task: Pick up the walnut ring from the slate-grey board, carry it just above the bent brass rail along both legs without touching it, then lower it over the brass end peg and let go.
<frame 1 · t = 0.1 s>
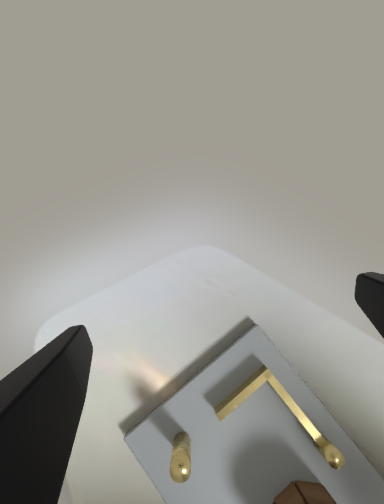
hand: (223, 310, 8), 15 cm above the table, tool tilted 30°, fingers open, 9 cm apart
end peg: (182, 436, 21), resting on slate board
bent rail: (277, 433, 20), on the slate board, point 1 cm above the table
slate board: (255, 460, 21), on the table
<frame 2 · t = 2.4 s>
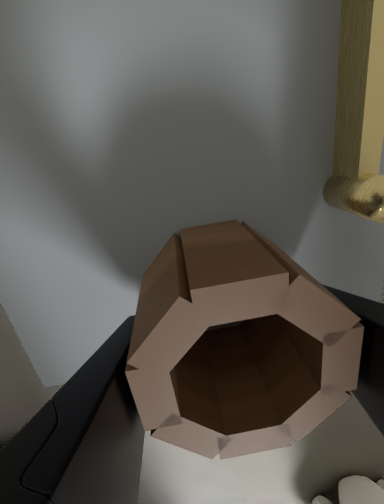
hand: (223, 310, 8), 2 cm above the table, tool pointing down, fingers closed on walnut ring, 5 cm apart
bent rail: (287, 72, 6), on the slate board, point 1 cm above the table
walnut ring: (217, 291, 10), point 1 cm above the table, touching gripper, slate board
water bottle: (346, 493, 18), on the table
slate board: (179, 149, 8), on the table
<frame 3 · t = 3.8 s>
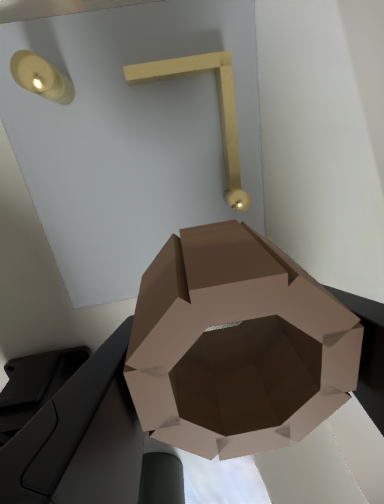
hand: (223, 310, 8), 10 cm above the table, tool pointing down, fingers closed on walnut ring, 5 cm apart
end peg: (66, 93, 14), resting on slate board
bent rail: (192, 144, 14), on the slate board, point 1 cm above the table
walnut ring: (216, 291, 10), point 9 cm above the table, touching gripper
wine bottle: (155, 468, 27), on the table
water bottle: (274, 404, 25), on the table
slate board: (148, 175, 16), on the table
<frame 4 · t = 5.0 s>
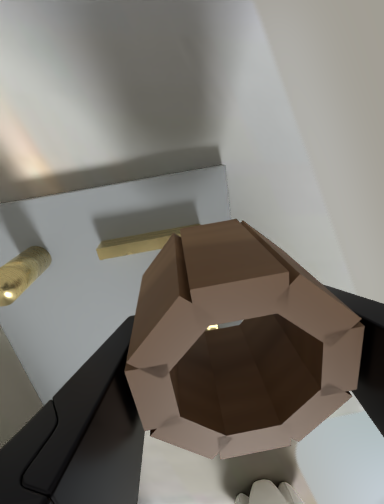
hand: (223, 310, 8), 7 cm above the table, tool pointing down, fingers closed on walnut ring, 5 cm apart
end peg: (44, 252, 14), resting on slate board
bent rail: (168, 304, 14), on the slate board, point 1 cm above the table
walnut ring: (217, 291, 10), point 6 cm above the table, touching gripper
water bottle: (262, 491, 25), on the table
slate board: (128, 314, 16), on the table
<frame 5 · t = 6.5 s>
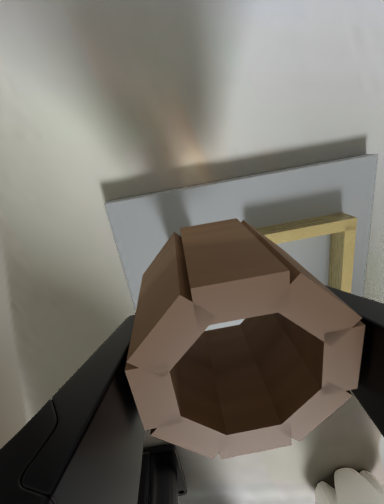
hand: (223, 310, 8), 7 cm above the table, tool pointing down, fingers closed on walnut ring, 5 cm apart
bent rail: (306, 291, 15), on the slate board, point 1 cm above the table
walnut ring: (217, 290, 10), point 6 cm above the table, touching gripper
water bottle: (340, 480, 26), on the table
slate board: (250, 303, 17), on the table
when the fingers open (4 cm above the table, at t = 7.7 s): walnut ring drops 2 cm, resting on slate board.
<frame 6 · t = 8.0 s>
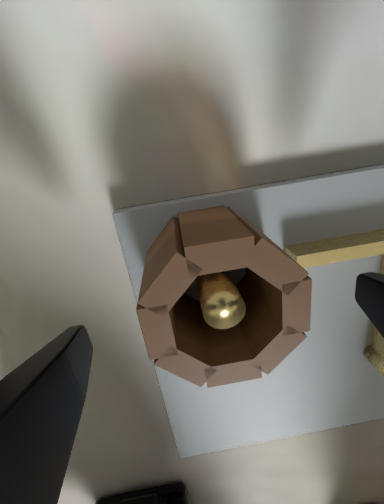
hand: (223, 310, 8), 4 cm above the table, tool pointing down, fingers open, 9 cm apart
end peg: (205, 258, 12), resting on slate board
bent rail: (352, 320, 12), on the slate board, point 1 cm above the table
walnut ring: (208, 265, 12), point 1 cm above the table, touching slate board
slate board: (279, 329, 14), on the table
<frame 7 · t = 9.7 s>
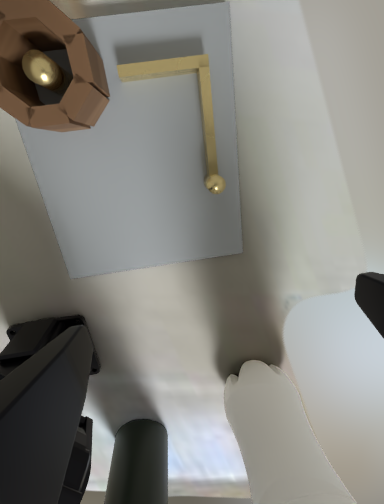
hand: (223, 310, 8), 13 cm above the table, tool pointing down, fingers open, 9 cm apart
end peg: (68, 86, 17), resting on slate board
bent rail: (175, 134, 17), on the slate board, point 1 cm above the table
walnut ring: (64, 83, 16), point 1 cm above the table, touching slate board
wine bottle: (142, 434, 30), on the table
water bottle: (251, 376, 28), on the table
slate board: (138, 161, 19), on the table
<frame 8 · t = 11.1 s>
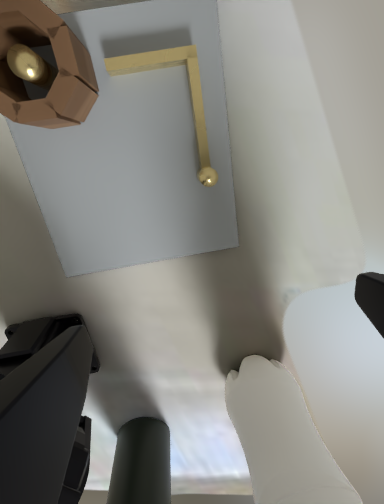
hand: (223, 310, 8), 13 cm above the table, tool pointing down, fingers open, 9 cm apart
end peg: (57, 82, 16), resting on slate board
bent rail: (165, 127, 16), on the slate board, point 1 cm above the table
walnut ring: (52, 80, 16), point 1 cm above the table, touching slate board
wine bottle: (144, 432, 29), on the table
water bottle: (252, 372, 28), on the table
slate board: (130, 156, 18), on the table
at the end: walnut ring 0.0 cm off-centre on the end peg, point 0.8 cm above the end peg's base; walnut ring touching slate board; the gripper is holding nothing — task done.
